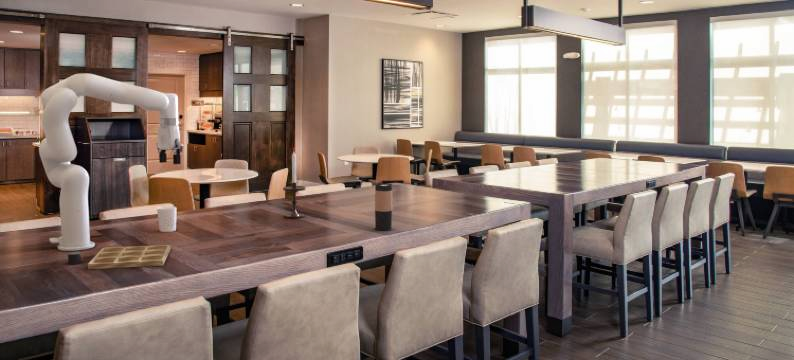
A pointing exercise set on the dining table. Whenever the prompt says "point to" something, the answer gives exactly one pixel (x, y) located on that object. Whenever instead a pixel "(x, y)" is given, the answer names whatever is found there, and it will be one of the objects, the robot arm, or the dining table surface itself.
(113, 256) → the board
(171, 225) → the white cup
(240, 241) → the dining table surface
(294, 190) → the candlestick
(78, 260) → the metal cylinder
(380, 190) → the travel mug
